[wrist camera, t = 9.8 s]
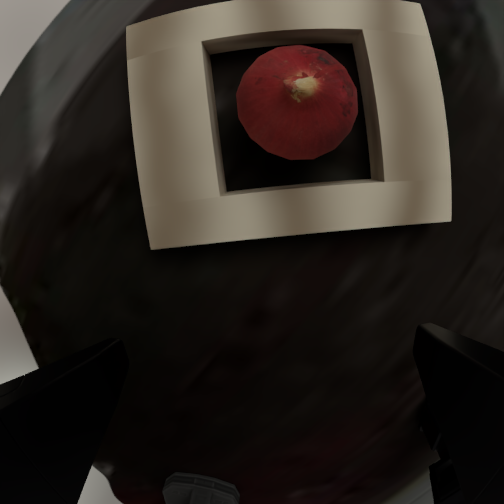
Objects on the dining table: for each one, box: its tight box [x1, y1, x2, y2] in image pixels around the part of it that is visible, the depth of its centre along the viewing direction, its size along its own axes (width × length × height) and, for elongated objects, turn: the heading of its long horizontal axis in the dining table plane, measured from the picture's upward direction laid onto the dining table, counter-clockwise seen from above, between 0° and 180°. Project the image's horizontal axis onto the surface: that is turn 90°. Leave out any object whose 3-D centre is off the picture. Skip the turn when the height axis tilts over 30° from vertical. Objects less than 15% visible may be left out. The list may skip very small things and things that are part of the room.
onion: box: [236, 45, 358, 160], centre depth 13 cm, size 6×6×8 cm
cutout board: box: [126, 0, 451, 250], centre depth 16 cm, size 18×14×2 cm
